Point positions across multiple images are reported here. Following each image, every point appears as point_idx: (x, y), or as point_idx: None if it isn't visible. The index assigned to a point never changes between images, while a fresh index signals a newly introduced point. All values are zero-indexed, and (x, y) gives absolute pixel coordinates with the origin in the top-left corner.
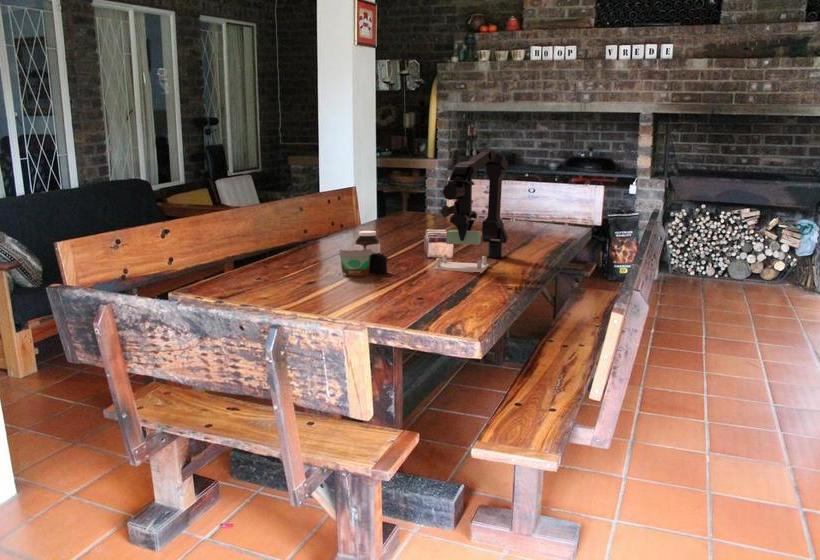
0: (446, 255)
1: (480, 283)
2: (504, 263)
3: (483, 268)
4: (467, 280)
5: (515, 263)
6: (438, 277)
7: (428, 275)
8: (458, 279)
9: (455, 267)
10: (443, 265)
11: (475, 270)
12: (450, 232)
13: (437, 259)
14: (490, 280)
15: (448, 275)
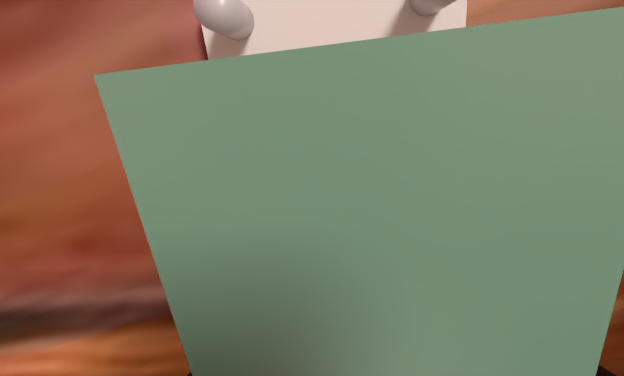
0: (451, 1)
1: (39, 352)
2: (615, 326)
3: None
4: (60, 290)
5: (619, 371)
6: (28, 129)
7: (41, 38)
8: (53, 247)
9: None
10: (290, 46)
11: None
12: (153, 216)
13: (195, 7)
14: (122, 369)
15: (118, 162)
